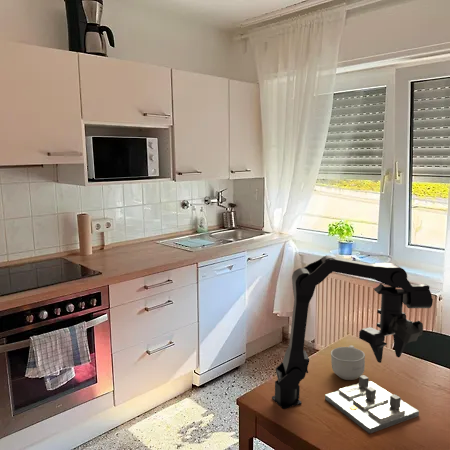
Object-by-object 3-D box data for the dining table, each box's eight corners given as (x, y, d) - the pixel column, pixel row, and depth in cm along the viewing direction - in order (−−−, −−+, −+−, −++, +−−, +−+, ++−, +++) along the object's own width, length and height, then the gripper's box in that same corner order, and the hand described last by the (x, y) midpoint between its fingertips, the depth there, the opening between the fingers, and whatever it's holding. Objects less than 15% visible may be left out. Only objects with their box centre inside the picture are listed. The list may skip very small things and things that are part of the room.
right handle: (395, 409, 115) (395, 399, 114) (389, 405, 117) (390, 395, 116) (400, 407, 116) (400, 397, 115) (394, 404, 117) (394, 394, 117)
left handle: (363, 388, 126) (364, 379, 125) (358, 385, 127) (359, 376, 127) (368, 387, 126) (368, 377, 126) (363, 384, 128) (363, 374, 128)
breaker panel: (369, 433, 109) (369, 424, 108) (325, 399, 125) (325, 391, 124) (418, 415, 116) (419, 407, 116) (370, 385, 132) (371, 377, 132)
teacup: (357, 387, 131) (358, 363, 130) (324, 377, 138) (325, 354, 137) (371, 370, 142) (372, 347, 141) (341, 361, 149) (341, 340, 148)
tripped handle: (370, 401, 119) (371, 391, 118) (365, 397, 121) (366, 387, 120) (375, 399, 120) (376, 389, 119) (370, 396, 121) (370, 386, 121)
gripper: (389, 322, 108) (386, 379, 110) (438, 311, 116) (435, 364, 118) (358, 309, 118) (356, 361, 120) (405, 300, 126) (403, 349, 128)
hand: (388, 359), depth 122 cm, fingers open, 7 cm apart
